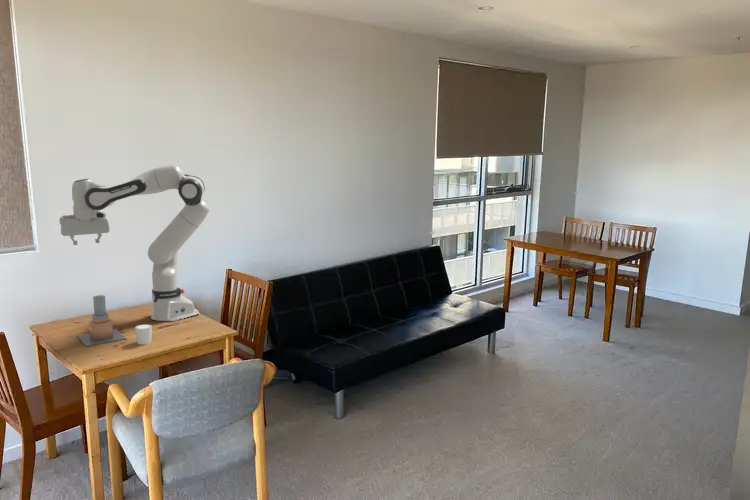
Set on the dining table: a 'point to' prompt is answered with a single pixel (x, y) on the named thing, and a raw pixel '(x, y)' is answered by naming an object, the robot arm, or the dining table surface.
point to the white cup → (143, 334)
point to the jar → (101, 333)
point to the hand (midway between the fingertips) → (86, 243)
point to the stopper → (99, 307)
